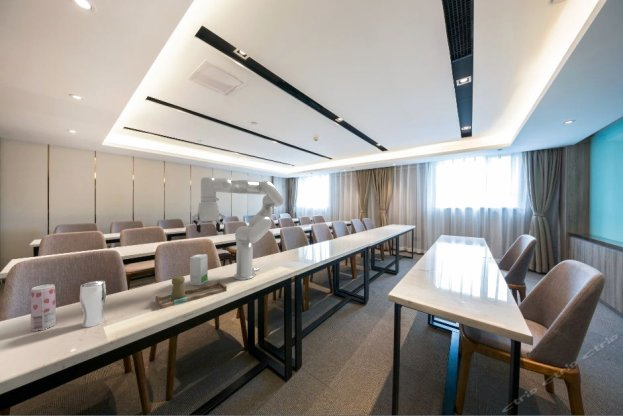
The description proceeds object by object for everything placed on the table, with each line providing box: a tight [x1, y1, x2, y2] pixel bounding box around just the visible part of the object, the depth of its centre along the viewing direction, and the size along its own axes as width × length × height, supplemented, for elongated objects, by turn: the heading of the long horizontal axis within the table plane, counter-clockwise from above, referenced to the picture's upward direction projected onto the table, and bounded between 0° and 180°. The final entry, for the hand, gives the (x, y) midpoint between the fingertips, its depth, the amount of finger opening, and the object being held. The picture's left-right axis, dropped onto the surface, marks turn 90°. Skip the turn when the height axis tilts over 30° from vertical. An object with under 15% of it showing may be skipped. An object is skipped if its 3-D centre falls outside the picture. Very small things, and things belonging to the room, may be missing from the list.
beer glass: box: [79, 280, 107, 328], centre depth 81 cm, size 7×7×15 cm
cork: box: [170, 275, 186, 302], centre depth 102 cm, size 6×6×11 cm
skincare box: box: [189, 253, 209, 286], centre depth 123 cm, size 8×7×16 cm
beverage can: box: [30, 283, 57, 332], centre depth 78 cm, size 6×6×15 cm
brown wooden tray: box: [154, 280, 227, 310], centre depth 106 cm, size 29×11×2 cm, turn 134°
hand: (208, 231), depth 117 cm, fingers open, 9 cm apart
